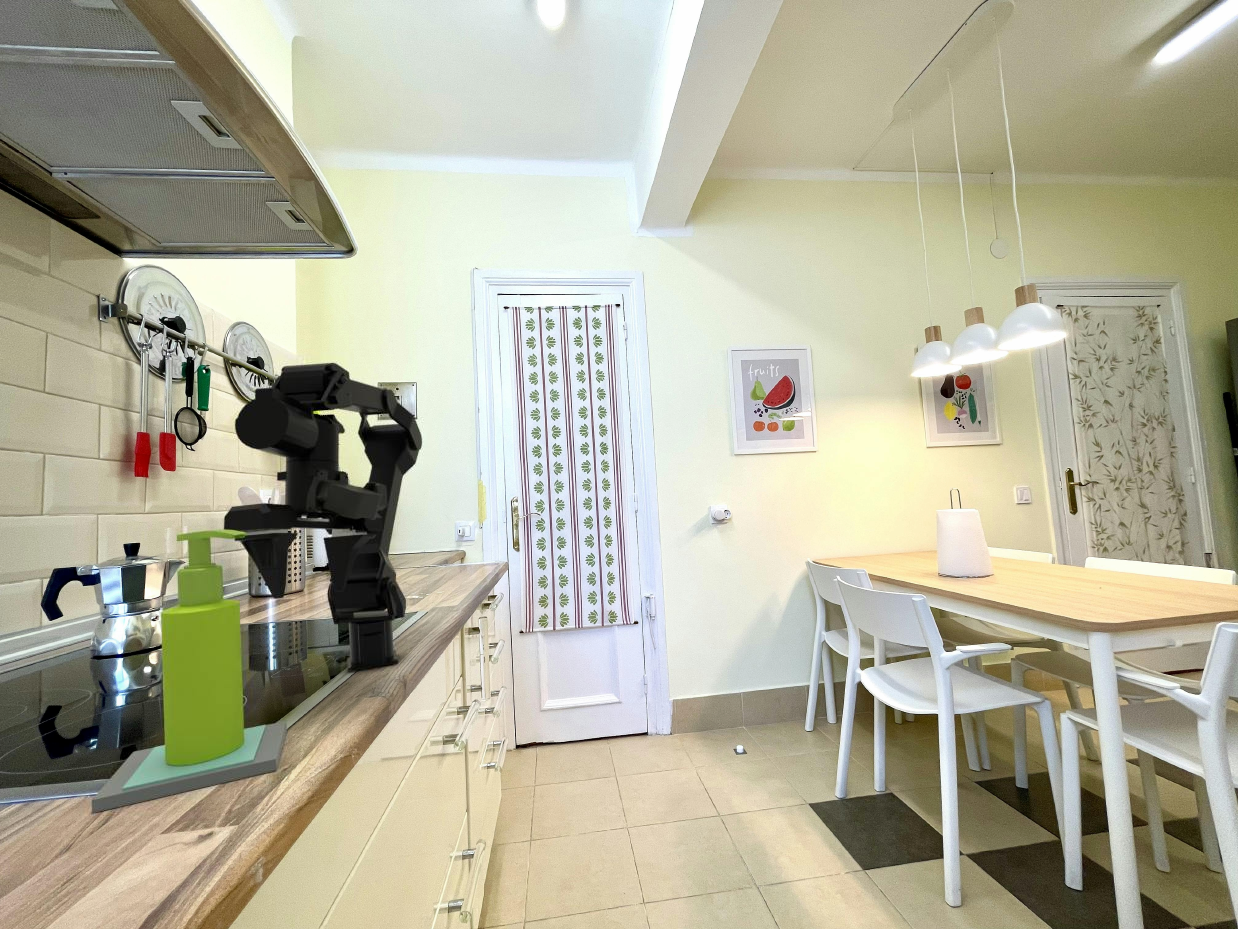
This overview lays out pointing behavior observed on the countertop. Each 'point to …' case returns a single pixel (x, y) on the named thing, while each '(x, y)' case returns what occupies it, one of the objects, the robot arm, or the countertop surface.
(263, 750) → the board
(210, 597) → the soap dispenser
